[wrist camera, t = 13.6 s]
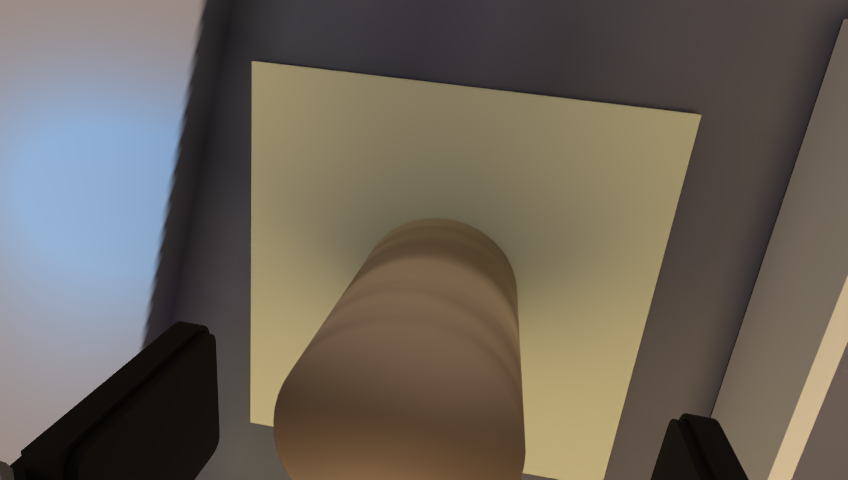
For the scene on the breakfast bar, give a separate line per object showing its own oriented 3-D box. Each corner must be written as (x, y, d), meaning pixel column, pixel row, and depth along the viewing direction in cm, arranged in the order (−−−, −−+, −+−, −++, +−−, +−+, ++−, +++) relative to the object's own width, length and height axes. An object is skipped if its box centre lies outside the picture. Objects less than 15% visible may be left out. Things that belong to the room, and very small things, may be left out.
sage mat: (257, 61, 18) (251, 60, 18) (697, 113, 17) (701, 114, 16) (254, 416, 23) (250, 422, 22) (599, 479, 21) (601, 487, 21)
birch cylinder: (367, 207, 19) (275, 309, 11) (529, 230, 18) (547, 353, 11) (356, 349, 21) (271, 517, 13) (504, 373, 20) (504, 564, 12)
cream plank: (843, 19, 15) (952, 6, 12) (866, 21, 15) (983, 10, 12) (665, 554, 22) (697, 656, 18) (680, 557, 22) (717, 660, 18)
